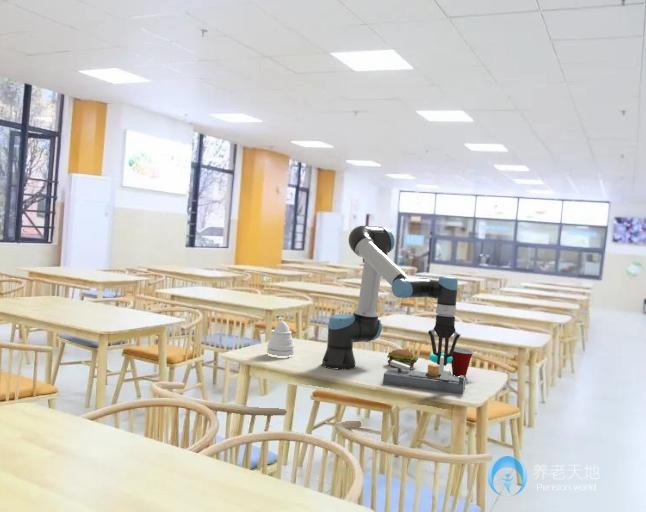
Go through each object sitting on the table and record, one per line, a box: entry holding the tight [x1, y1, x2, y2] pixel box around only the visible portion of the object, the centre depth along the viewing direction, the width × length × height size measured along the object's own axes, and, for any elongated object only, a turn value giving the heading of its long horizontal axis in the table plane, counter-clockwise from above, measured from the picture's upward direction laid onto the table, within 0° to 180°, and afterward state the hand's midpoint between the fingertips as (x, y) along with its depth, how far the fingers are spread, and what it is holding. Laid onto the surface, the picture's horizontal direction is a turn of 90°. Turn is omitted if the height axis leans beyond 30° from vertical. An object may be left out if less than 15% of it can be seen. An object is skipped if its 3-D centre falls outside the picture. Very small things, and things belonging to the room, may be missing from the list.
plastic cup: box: [448, 346, 474, 377], centre depth 269 cm, size 11×11×12 cm
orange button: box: [427, 363, 440, 377], centre depth 249 cm, size 5×5×5 cm
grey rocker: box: [390, 360, 411, 371], centre depth 254 cm, size 8×4×2 cm, turn 73°
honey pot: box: [266, 317, 295, 356], centre depth 288 cm, size 13×13×18 cm
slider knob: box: [442, 368, 451, 380], centre depth 241 cm, size 2×4×4 cm, turn 162°
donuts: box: [429, 352, 453, 376], centre depth 264 cm, size 10×10×10 cm
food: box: [386, 348, 419, 369], centre depth 282 cm, size 14×14×8 cm
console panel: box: [382, 367, 467, 395], centre depth 248 cm, size 32×13×6 cm, turn 72°
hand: (441, 373), depth 242 cm, fingers closed
